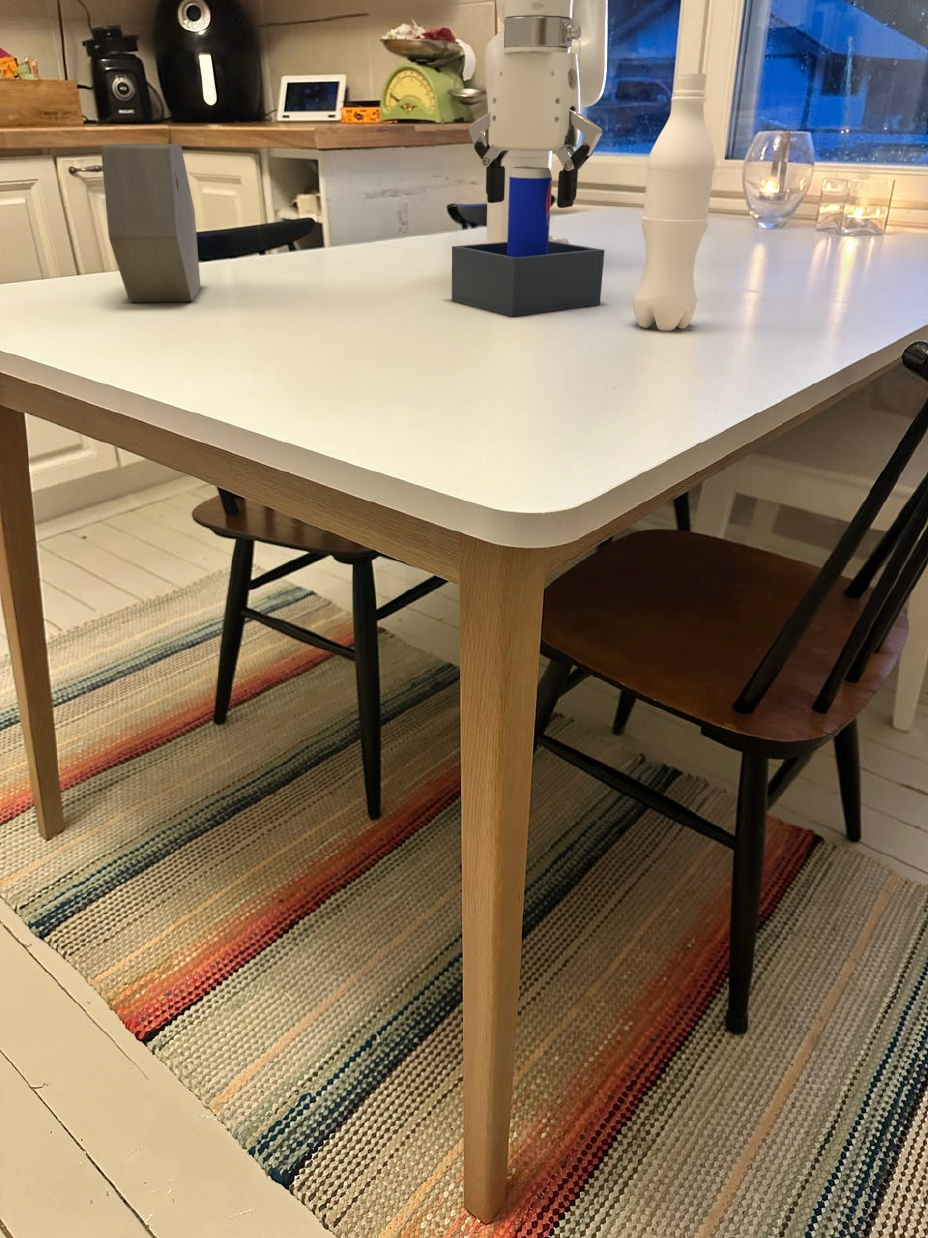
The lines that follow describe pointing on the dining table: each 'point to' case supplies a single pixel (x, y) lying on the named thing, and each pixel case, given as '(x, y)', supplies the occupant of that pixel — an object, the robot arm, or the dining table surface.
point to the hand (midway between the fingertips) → (529, 204)
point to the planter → (151, 221)
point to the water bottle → (675, 210)
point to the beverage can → (529, 211)
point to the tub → (526, 278)
